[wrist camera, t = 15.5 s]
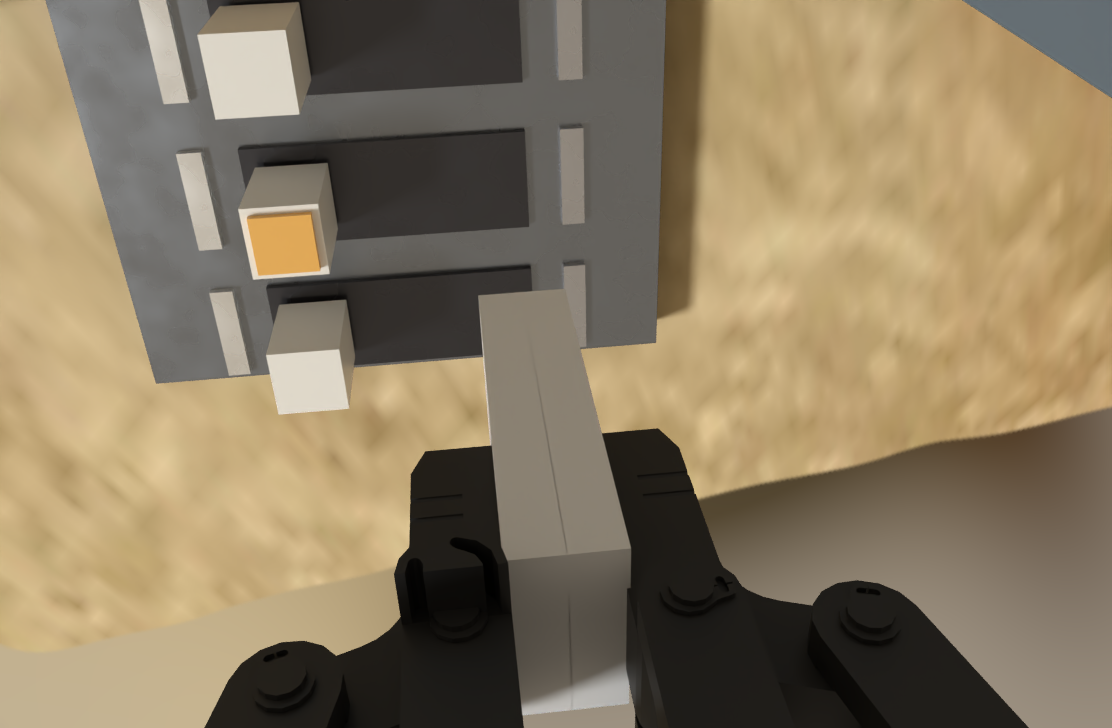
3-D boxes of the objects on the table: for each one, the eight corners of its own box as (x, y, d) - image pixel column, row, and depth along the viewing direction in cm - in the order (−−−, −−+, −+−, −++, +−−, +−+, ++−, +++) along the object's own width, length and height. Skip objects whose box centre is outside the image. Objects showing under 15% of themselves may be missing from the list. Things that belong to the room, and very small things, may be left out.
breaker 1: (219, 6, 38) (197, 34, 34) (299, 2, 38) (285, 29, 35) (235, 84, 40) (215, 119, 36) (311, 79, 40) (299, 114, 36)
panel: (57, -26, 39) (38, -14, 37) (657, -56, 41) (669, -46, 39) (165, 361, 49) (154, 387, 47) (648, 322, 51) (657, 346, 49)
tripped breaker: (254, 167, 42) (236, 212, 38) (327, 162, 42) (317, 207, 38) (267, 233, 43) (251, 283, 39) (337, 228, 43) (328, 277, 39)
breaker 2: (278, 304, 45) (265, 355, 41) (346, 299, 45) (339, 349, 42) (290, 361, 47) (278, 414, 43) (355, 355, 47) (349, 408, 43)
